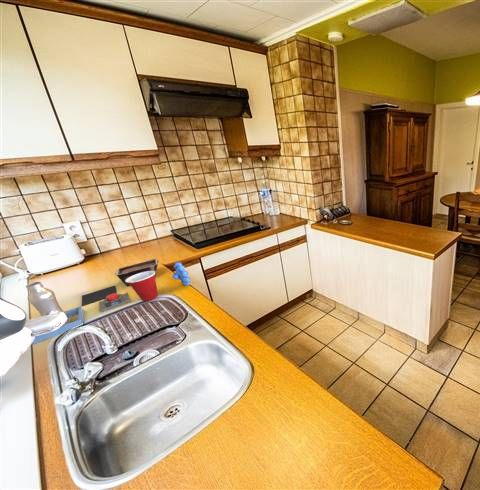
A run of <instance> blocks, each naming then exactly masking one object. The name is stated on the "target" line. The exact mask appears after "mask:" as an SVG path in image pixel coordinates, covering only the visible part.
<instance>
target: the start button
mask: <svg viewBox="0 0 480 490" xmlns="http://www.w3.org/2000/svg"><path fill="white" fill-rule="evenodd" d="M117 294H118V293H117ZM117 294H116V293H113V294H110V295H108V296H106V298H107V300H108V301H111V300H114V299H116V298H118V295H117Z"/></svg>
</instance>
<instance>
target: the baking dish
mask: <svg viewBox="0 0 480 490" xmlns="http://www.w3.org/2000/svg"><path fill="white" fill-rule="evenodd" d="M158 265H159V259H158V258H152V259H149V260H144V261H142V262H138V263H137V262H136V263H133V264H130V265H125V266H123V267H119V268H117V269H116V270H115V273H114V275H115V276H116V277H117V278H118V279H119V280H120V281H121V282H122V283H123V284H124V285H125V286H126V287H131V286H130V285H129V284H128V283H127V282H125V280H126V279H127V278H129V277H131V276H133V275H136V274H138V273H142V272H146V271H155V272H157V270H158Z"/></svg>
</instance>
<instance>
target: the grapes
mask: <svg viewBox="0 0 480 490" xmlns="http://www.w3.org/2000/svg"><path fill="white" fill-rule="evenodd" d="M173 268H174V269H175V271H174V273H173V274H172V277H171V278H172V279H174V280H179V281H181V282H180V284H181V285H183V286H186V287H188V286H190V284H191V277H189V271H187V270H185V269H186V266H184V265H183V263H182V262H179V261H176V262H175V263H174V264H173Z"/></svg>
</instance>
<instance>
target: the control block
mask: <svg viewBox="0 0 480 490" xmlns="http://www.w3.org/2000/svg"><path fill="white" fill-rule="evenodd" d="M117 295H118V298H116V299H114V300H111V301H108V300H107V298H105V299H103V300H100V301H98V305H99V306H98V307H99V312H100V313H101V314H102V313H104V312H105V313H106V312H107V311H111V310H113V309H116V308H119V307H122V306H125V305H127V304H129V303H131V298H130V294H129V292H125V293H117Z"/></svg>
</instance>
